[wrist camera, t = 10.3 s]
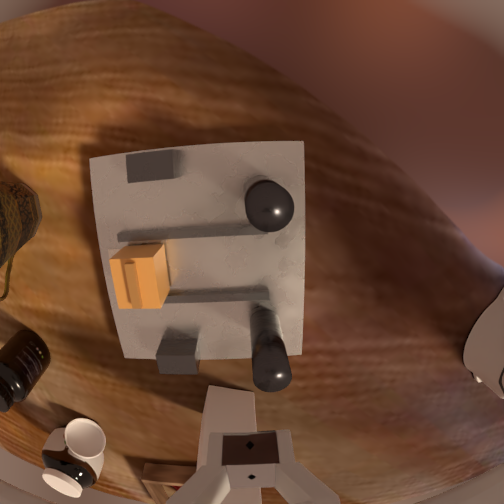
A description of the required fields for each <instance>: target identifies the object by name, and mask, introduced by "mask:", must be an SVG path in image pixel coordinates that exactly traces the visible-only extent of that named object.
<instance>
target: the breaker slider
mask: <svg viewBox="0 0 504 504" xmlns="http://www.w3.org/2000/svg"><path fill="white" fill-rule="evenodd" d="M109 262H110V268H111V273H112V278H113V283H114V288H115V293H116V298H117V303H118V307H119V309H160V308H161V307H162V305H163V303H164V301H165V299H166V297H167V295H168V293H169V291H170V286H169V278H168V271H167V263H166V255H165V247H164V244H150V245H133V246H124V247H123V248H122V249H120V250H119V251H118V252H117V253H116V254H115V255H114V256H112V257H111V258H110V259H109Z"/></svg>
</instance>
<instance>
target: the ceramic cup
mask: <svg viewBox="0 0 504 504" xmlns="http://www.w3.org/2000/svg"><path fill="white" fill-rule="evenodd" d="M41 219H42V213H41V209H40V204H39V199H38V195H37V194H36V193H35V192H33V191H32V190H31V189H30V188H29V187H27V186H26V185H25V184H23V183H10V182H0V268H1V267H2V266H3V265H4V263H5V262H6V261H7V260H8V267H7V271H6V277H5V290H4V294H3V296H2V297H0V301H3V300H4V299H5V298H6V297H7V295H8V292H9V281H10V272H11V268H12V262H13V258H14V255H15V253H16V252H17V251H18V250H19V249H20V248H21V247H22V246H23V245H24V244H25V243H26V242H28V241H29V240H30V239H31V238H32V237H34V236H35V234H36V231H37V229H38V226H39V224H40V221H41Z"/></svg>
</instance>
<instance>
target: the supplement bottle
mask: <svg viewBox="0 0 504 504" xmlns="http://www.w3.org/2000/svg"><path fill="white" fill-rule="evenodd" d="M50 359H51V358H50V352H49V350H48V348H47V346H46V344H45V343H44V341H43V340H42V339H41V338H40V337H39V336H38V335H36V334H35V333H33V332H31V331H28V330H21V331H18V332H17V333H16V334H15V335H14V336H13V337H12V338H11V339H10V340H9V341H8V342H7V343H6V344H5V345H4V346H3V347H2V348H1V349H0V411H1V412H7V411H8V410H9V409H10V407H11V406H12V405H13V404H14V402H21V401H24V400H25V399H26V397H27V396H28V395H29V393H30V392H31V390H32V389H33V387H34V386H35V385H36V383H37V382H38V380H39V379H40V377H41V376H42V375H43V373H44V372H45V370H46V369H47V368H48V366H49V364H50Z"/></svg>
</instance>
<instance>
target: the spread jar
mask: <svg viewBox="0 0 504 504" xmlns="http://www.w3.org/2000/svg"><path fill="white" fill-rule="evenodd" d="M105 443H106V439H105V435H104V432H103V430H102V429H101V427H100V426H99V425H98V424H96V423H95V422H94V421H92V420H89V419H86V418H77V419H74V420H72V421H71V422H69V423H68V425H67V426H61V427H58V428H56V429H55V430H54V431H53V432H52V433H51V434H50V436H49V437H48V439H47V441H46V443H45V445H44V447H43V450H42V460H43V463H44V466H45V468H46V469H45V470H44V472H43V474H42V477H43V479H44V481H45V482H46V483H48V484H49V485H50V486H51V487H52V488H54V489H56V490H57V491H59V492H61V493H63V494H65V495H68V496H71V497H80V495H81V492H82V489H84V488H88V487H90V486H92V485H94V484H95V483H96V481H97V479H98V478H99V475H100V472H101V469H102V466H103V462H104V454H103V450H104V447H105Z"/></svg>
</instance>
